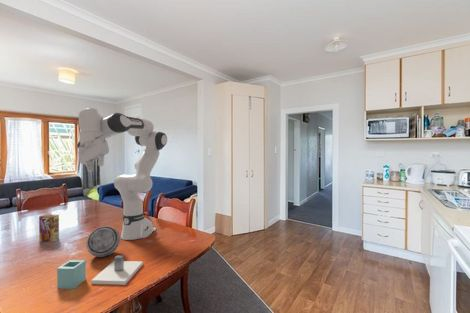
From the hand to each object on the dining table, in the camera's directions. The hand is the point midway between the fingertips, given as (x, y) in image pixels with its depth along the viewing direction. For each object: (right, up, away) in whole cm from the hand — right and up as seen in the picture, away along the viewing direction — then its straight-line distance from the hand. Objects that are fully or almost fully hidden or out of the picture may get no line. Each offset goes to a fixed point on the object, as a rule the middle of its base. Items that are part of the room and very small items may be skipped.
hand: (95, 168), depth 104 cm
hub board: (+14, -46, -6) cm, 48 cm away
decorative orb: (-3, -46, +11) cm, 47 cm away
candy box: (-46, -45, +29) cm, 71 cm away
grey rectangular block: (+14, -45, -6) cm, 47 cm away
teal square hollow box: (-1, -46, -14) cm, 48 cm away
